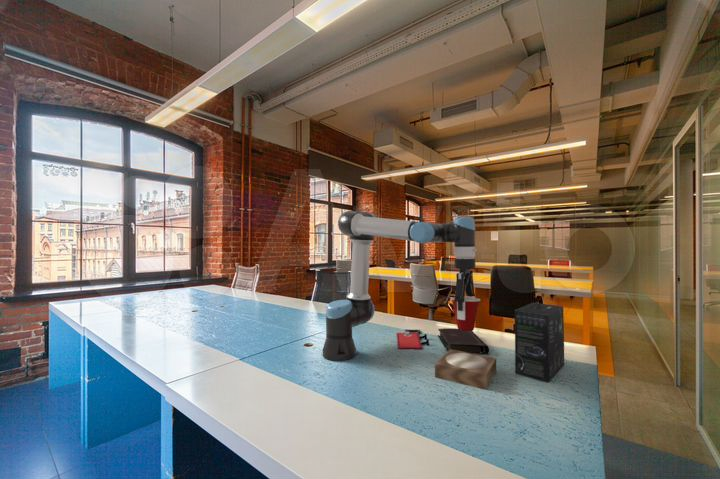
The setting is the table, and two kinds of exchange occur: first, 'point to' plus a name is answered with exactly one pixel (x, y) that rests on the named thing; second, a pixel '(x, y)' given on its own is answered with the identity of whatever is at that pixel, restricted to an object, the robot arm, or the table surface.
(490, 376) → the walnut pedestal
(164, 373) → the table surface
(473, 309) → the plastic cup
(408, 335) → the red board with handle
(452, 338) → the diary
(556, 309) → the headset box
